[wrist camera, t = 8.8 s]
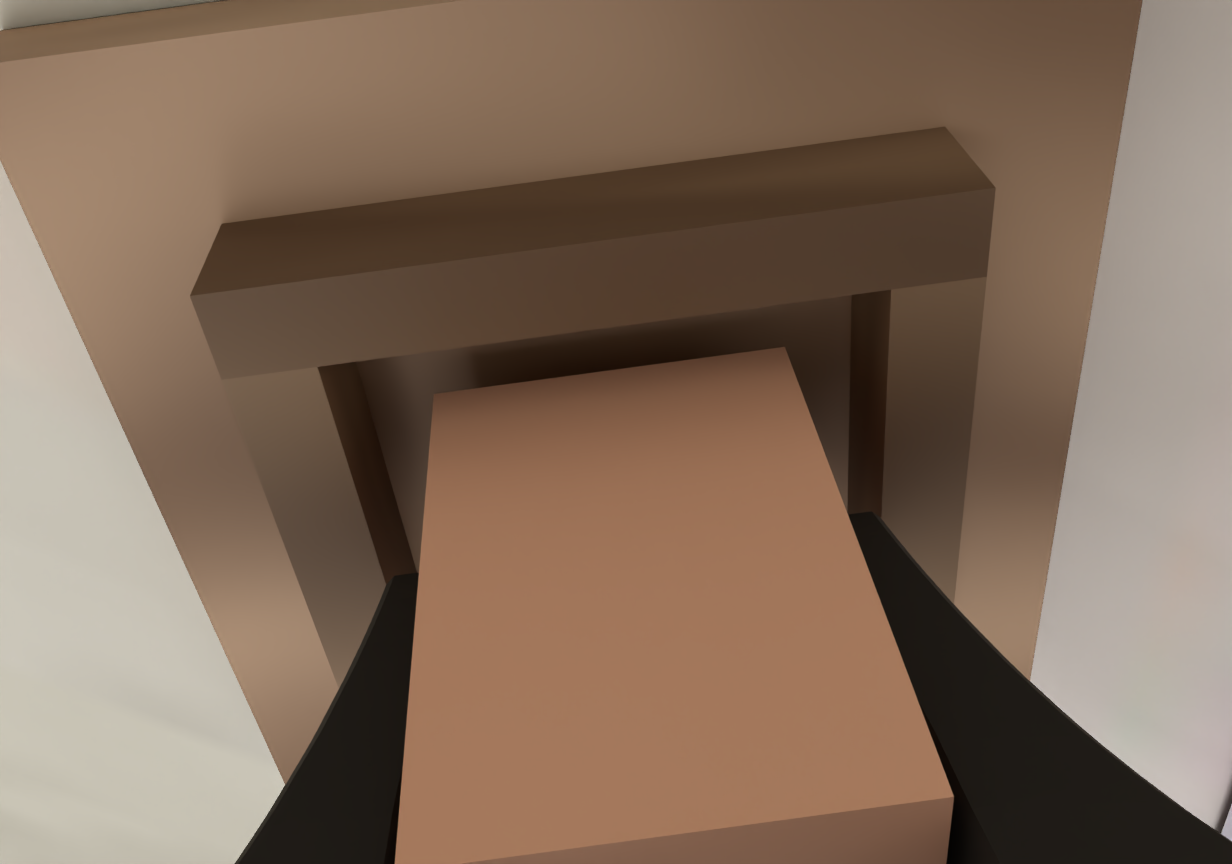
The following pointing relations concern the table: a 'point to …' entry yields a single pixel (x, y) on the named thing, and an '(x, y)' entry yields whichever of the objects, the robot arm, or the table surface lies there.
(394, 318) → the display stand
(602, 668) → the terracotta block
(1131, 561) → the table surface
